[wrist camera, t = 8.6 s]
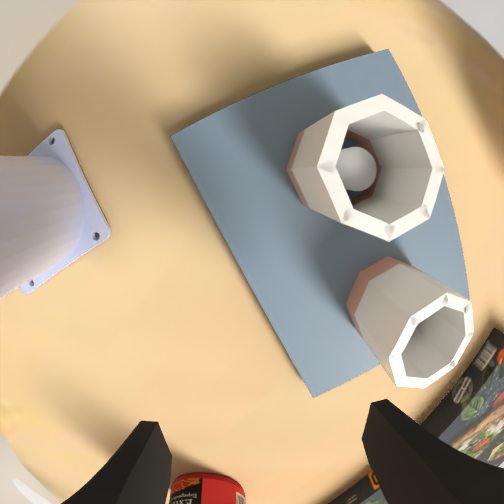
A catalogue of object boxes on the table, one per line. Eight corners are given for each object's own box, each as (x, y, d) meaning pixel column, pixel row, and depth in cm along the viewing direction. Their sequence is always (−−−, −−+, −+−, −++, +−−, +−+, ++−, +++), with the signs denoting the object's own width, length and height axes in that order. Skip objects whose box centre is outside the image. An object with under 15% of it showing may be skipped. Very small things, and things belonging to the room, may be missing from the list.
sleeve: (314, 229, 16) (355, 260, 10) (273, 144, 15) (296, 126, 9) (388, 191, 16) (454, 203, 10) (353, 110, 14) (410, 84, 9)
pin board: (308, 385, 20) (322, 426, 16) (175, 139, 16) (155, 127, 11) (459, 297, 20) (493, 319, 15) (378, 56, 15) (412, 31, 11)
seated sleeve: (361, 345, 18) (400, 402, 12) (337, 283, 17) (381, 333, 11) (422, 308, 18) (474, 351, 12) (406, 245, 17) (468, 276, 11)
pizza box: (551, 378, 27) (561, 387, 24) (432, 506, 34) (438, 517, 31) (491, 324, 21) (513, 340, 18) (301, 517, 28) (305, 536, 25)
